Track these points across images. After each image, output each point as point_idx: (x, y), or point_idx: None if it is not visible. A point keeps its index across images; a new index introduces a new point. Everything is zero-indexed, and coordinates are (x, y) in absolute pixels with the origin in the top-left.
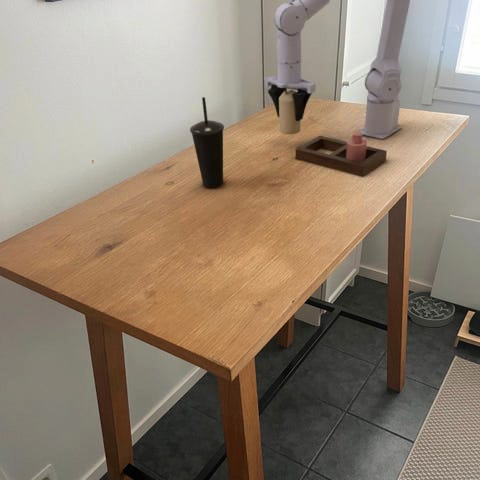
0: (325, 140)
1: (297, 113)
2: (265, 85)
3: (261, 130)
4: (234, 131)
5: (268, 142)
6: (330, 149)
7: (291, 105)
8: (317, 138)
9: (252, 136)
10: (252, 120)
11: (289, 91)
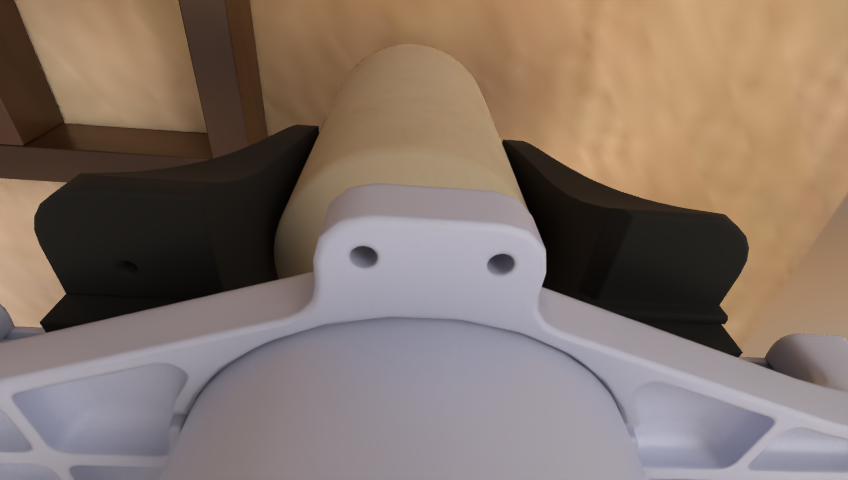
0: (182, 153)
1: (269, 139)
2: (838, 336)
3: (674, 202)
4: (845, 126)
5: (564, 71)
6: (166, 133)
7: (315, 157)
8: (232, 149)
9: (702, 108)
10: (763, 282)
11: None
